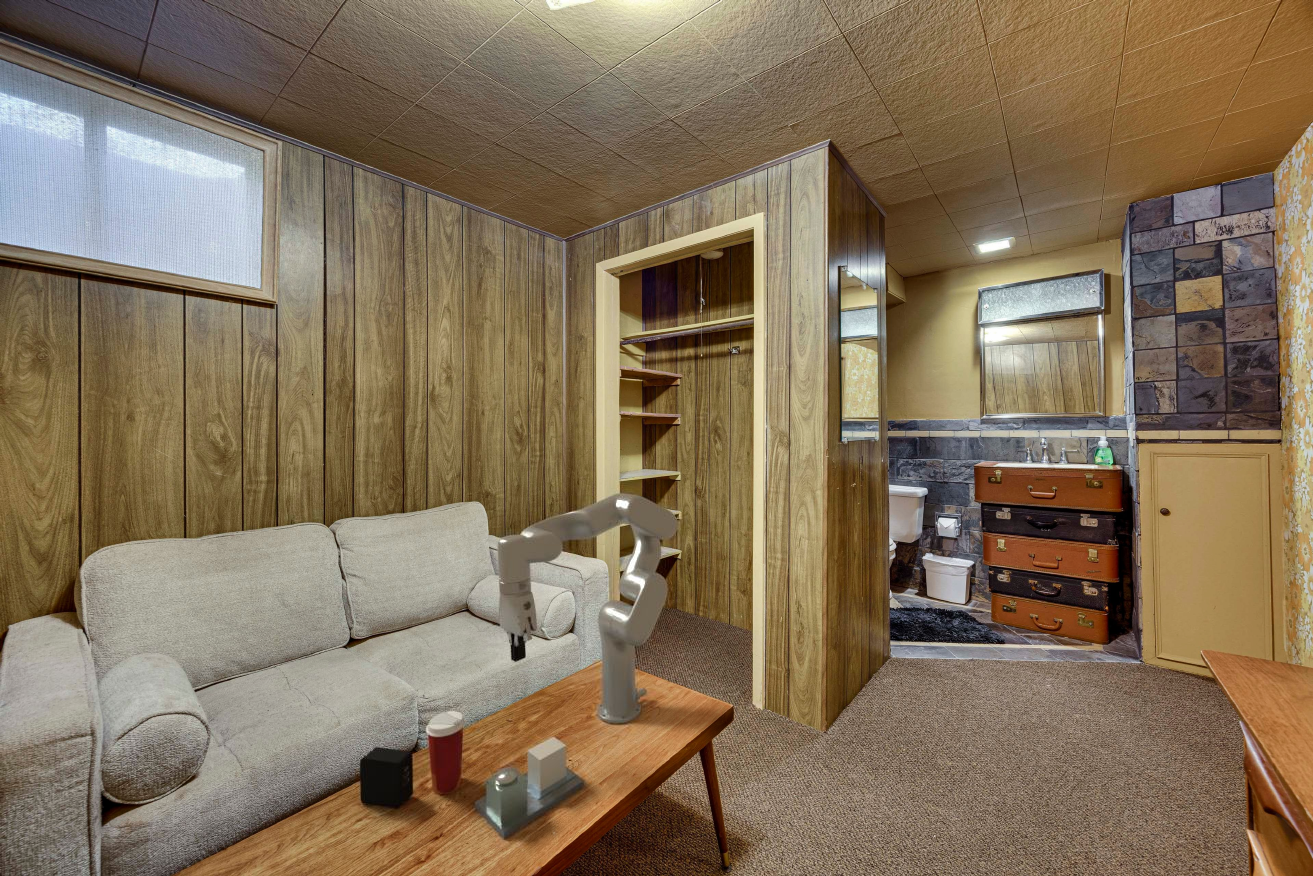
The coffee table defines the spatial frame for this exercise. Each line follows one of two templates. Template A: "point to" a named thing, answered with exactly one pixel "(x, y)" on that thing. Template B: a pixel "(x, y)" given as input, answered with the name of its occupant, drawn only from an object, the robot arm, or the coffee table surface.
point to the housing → (546, 763)
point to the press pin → (506, 776)
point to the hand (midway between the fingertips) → (518, 658)
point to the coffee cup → (445, 750)
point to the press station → (522, 801)
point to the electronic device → (386, 777)
